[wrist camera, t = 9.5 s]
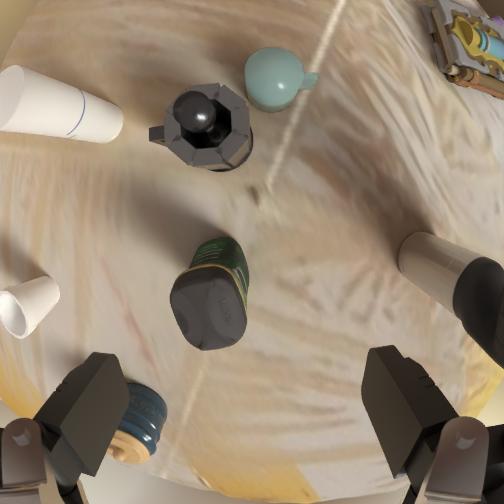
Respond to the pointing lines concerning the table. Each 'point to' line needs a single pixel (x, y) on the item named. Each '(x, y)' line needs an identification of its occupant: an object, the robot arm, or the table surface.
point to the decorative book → (468, 46)
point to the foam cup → (27, 304)
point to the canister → (139, 426)
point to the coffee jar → (213, 296)
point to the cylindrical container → (54, 108)
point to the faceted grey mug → (190, 143)
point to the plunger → (200, 117)
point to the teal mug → (275, 79)
